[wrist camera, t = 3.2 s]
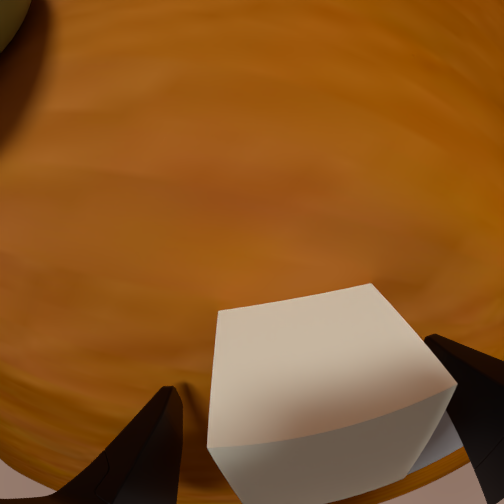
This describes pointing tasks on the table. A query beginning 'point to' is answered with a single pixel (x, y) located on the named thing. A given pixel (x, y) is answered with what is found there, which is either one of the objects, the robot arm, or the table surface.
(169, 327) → the table surface
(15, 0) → the pear
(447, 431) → the mat
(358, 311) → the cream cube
